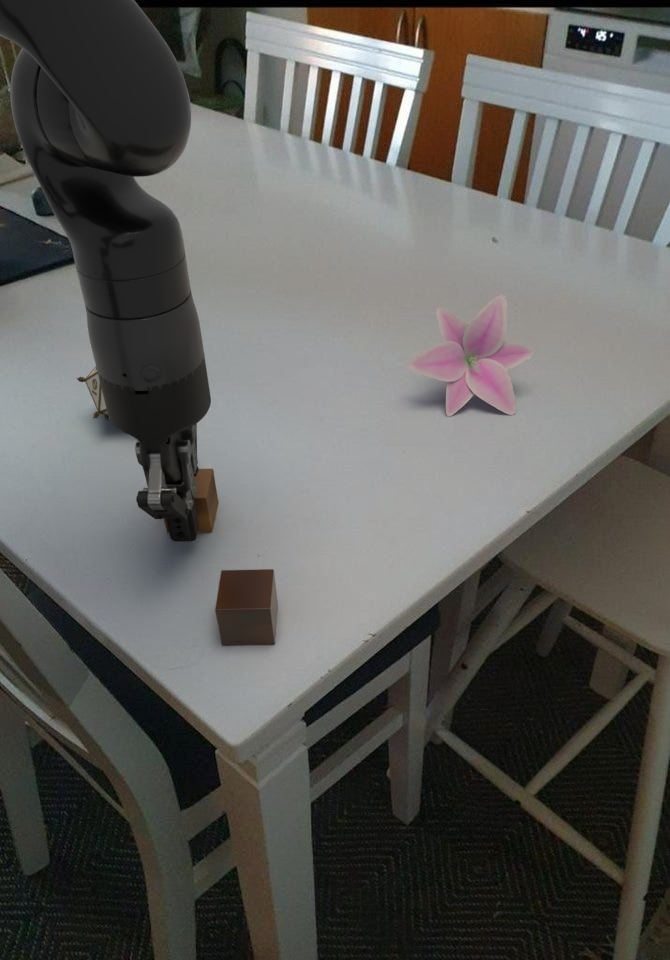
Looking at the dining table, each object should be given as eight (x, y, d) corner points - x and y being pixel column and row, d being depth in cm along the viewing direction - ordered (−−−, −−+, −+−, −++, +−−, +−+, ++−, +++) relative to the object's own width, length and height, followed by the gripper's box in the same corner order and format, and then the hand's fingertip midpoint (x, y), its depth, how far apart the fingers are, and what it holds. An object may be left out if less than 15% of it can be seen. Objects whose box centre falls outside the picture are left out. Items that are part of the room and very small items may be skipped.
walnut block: (221, 645, 61) (214, 610, 58) (227, 605, 64) (221, 569, 61) (274, 644, 60) (270, 608, 58) (278, 604, 64) (273, 568, 61)
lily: (388, 408, 86) (407, 362, 77) (425, 323, 90) (447, 271, 81) (493, 452, 85) (524, 412, 76) (525, 365, 90) (557, 316, 81)
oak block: (166, 533, 70) (158, 498, 68) (174, 503, 73) (167, 468, 71) (212, 533, 70) (206, 498, 68) (218, 502, 73) (213, 468, 71)
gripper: (117, 312, 62) (155, 486, 73) (72, 408, 52) (124, 595, 63) (214, 310, 62) (238, 485, 73) (189, 406, 52) (220, 593, 62)
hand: (185, 536), depth 68 cm, fingers closed
